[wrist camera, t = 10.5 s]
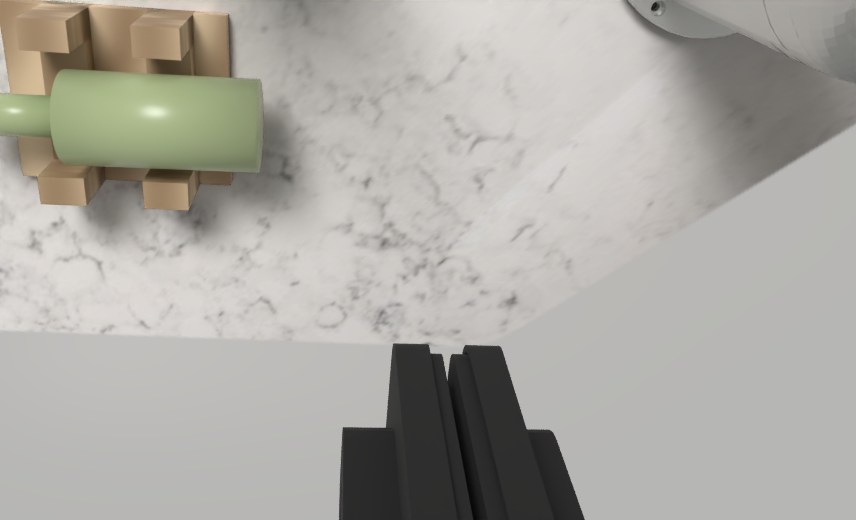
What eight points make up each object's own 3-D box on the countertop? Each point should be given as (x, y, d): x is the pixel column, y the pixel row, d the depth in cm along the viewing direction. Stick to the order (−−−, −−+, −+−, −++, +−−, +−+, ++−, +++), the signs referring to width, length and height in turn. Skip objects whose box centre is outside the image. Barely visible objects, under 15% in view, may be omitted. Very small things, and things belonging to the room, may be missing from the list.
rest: (228, 13, 45) (215, 31, 41) (232, 180, 49) (221, 211, 45) (2, -3, 43) (-36, 13, 39) (27, 170, 48) (-4, 202, 44)
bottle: (253, 93, 40) (-88, 75, 38) (255, 186, 42) (-67, 174, 40) (262, 69, 45) (-43, 52, 43) (264, 154, 47) (-26, 142, 45)
